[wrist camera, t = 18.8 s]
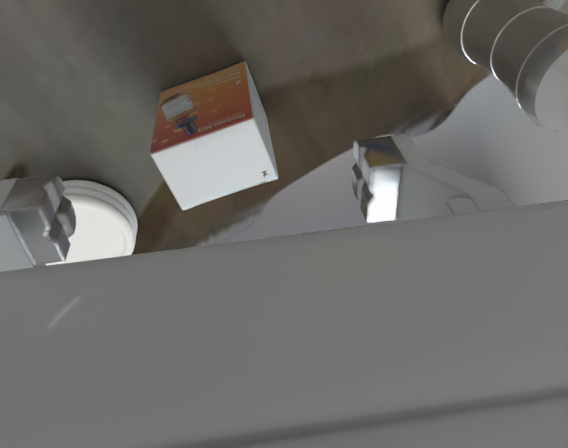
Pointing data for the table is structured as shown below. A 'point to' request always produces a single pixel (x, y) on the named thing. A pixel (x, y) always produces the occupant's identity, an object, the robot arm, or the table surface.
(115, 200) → the coaster
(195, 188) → the small box
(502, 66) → the plastic bottle
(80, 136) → the table surface
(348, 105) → the table surface
